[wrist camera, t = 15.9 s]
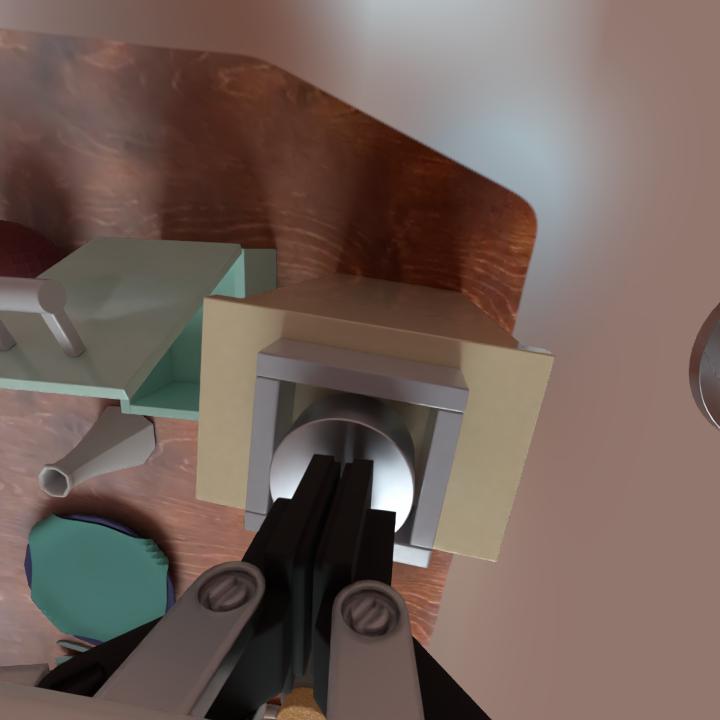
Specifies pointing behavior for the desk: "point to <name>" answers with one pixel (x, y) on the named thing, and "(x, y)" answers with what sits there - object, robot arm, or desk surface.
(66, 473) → the flask
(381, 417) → the flush button
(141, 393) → the bowl box
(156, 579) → the cutlery set
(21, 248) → the decorative ball
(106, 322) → the pale green box lid
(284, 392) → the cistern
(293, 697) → the bottle
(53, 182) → the desk surface
